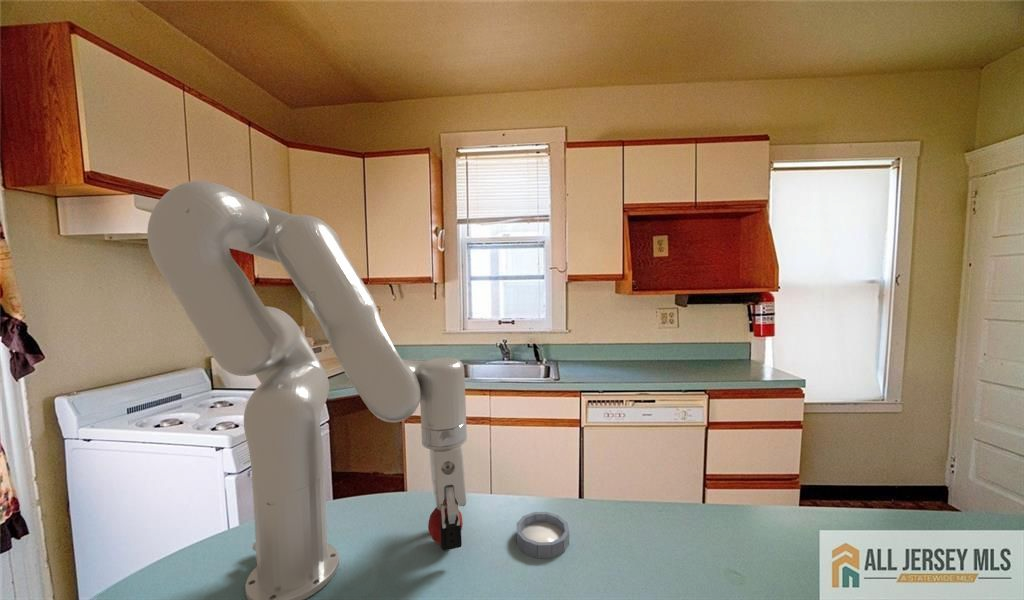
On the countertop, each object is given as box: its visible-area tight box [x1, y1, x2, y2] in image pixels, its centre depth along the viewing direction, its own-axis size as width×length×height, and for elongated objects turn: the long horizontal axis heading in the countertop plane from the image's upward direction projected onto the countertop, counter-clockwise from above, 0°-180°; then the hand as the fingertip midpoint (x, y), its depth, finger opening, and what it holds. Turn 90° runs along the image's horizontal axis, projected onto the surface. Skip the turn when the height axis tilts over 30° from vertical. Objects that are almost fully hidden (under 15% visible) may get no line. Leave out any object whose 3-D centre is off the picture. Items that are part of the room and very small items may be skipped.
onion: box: [427, 502, 463, 545], centre depth 68 cm, size 6×6×8 cm
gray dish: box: [516, 511, 570, 559], centre depth 69 cm, size 9×9×2 cm
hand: (448, 529), depth 68 cm, fingers open, 9 cm apart
